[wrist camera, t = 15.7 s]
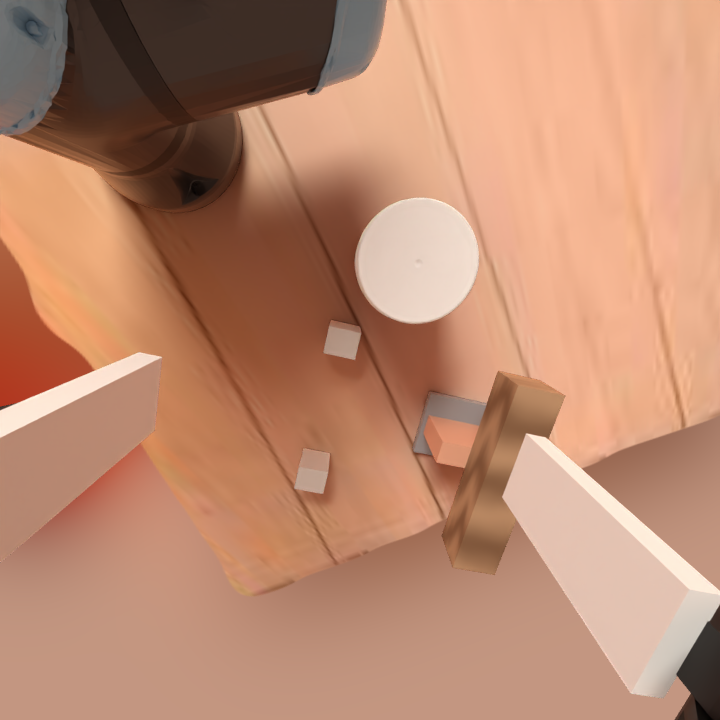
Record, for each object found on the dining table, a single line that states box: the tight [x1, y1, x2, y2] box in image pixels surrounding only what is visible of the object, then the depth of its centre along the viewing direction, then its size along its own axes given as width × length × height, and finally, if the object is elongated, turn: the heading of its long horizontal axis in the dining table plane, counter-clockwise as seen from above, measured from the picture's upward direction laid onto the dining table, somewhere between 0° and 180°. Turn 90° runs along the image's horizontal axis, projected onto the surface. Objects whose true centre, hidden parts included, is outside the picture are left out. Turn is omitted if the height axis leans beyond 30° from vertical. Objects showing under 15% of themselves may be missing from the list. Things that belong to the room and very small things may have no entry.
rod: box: [442, 371, 565, 575], centre depth 37 cm, size 20×4×4 cm, turn 167°
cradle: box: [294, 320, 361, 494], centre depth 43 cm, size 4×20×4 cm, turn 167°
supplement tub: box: [354, 198, 479, 324], centre depth 34 cm, size 10×10×15 cm
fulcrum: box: [412, 391, 487, 468], centre depth 43 cm, size 12×8×8 cm, turn 77°
